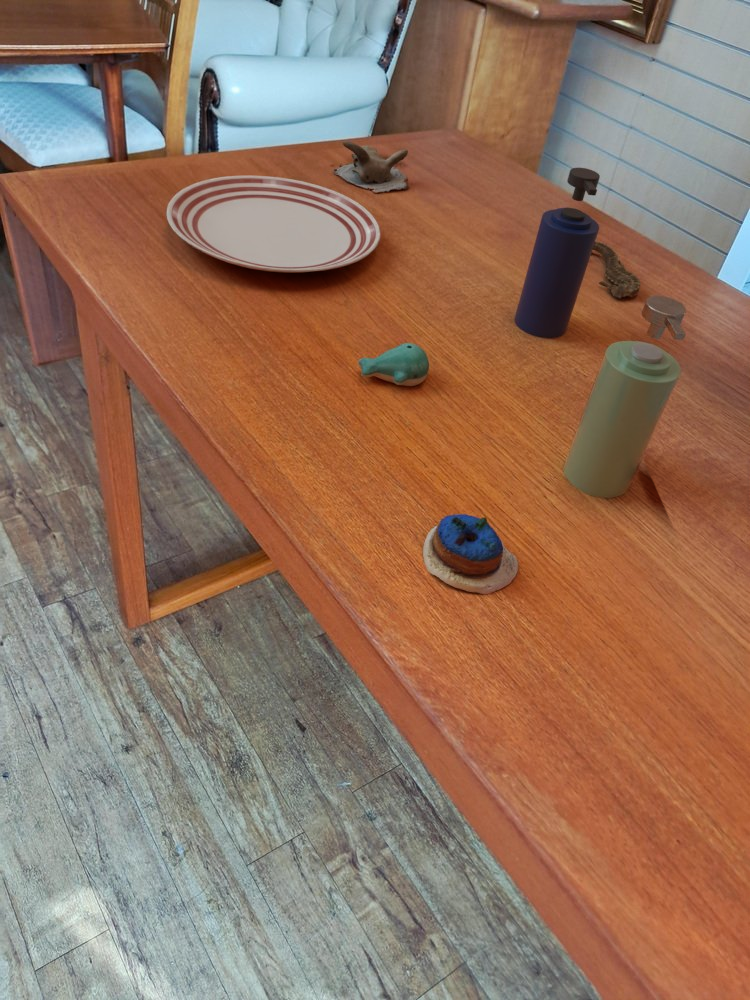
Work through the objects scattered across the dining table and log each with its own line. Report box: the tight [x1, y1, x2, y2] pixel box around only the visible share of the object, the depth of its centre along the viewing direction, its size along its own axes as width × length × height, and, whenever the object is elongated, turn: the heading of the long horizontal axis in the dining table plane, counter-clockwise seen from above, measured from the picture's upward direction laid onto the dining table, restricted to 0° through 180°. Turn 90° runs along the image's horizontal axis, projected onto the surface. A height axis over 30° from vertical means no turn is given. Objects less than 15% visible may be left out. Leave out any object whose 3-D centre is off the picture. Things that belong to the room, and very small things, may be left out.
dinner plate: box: [166, 175, 381, 273], centre depth 103 cm, size 27×27×3 cm
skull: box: [333, 141, 409, 194], centre depth 122 cm, size 10×12×6 cm
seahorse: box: [592, 241, 641, 300], centre depth 108 cm, size 6×15×2 cm, turn 13°
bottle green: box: [562, 340, 682, 499], centre depth 71 cm, size 6×6×14 cm
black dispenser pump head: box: [566, 167, 601, 202], centre depth 84 cm, size 3×6×3 cm, turn 2°
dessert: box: [422, 513, 519, 595], centre depth 65 cm, size 8×7×6 cm
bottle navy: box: [514, 207, 600, 339], centre depth 92 cm, size 6×6×14 cm
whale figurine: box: [357, 342, 430, 387], centre depth 83 cm, size 6×7×4 cm
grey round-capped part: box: [641, 295, 687, 341], centre depth 64 cm, size 3×6×3 cm, turn 2°
